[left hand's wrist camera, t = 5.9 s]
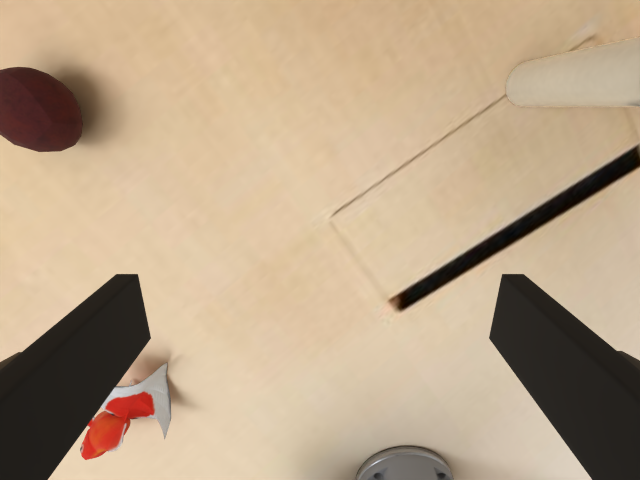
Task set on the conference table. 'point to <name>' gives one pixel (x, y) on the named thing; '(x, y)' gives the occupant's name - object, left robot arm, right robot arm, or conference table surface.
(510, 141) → the conference table surface
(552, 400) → the left robot arm
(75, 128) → the dark red ball
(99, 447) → the fish
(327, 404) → the conference table surface
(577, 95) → the white cylindrical bottle
